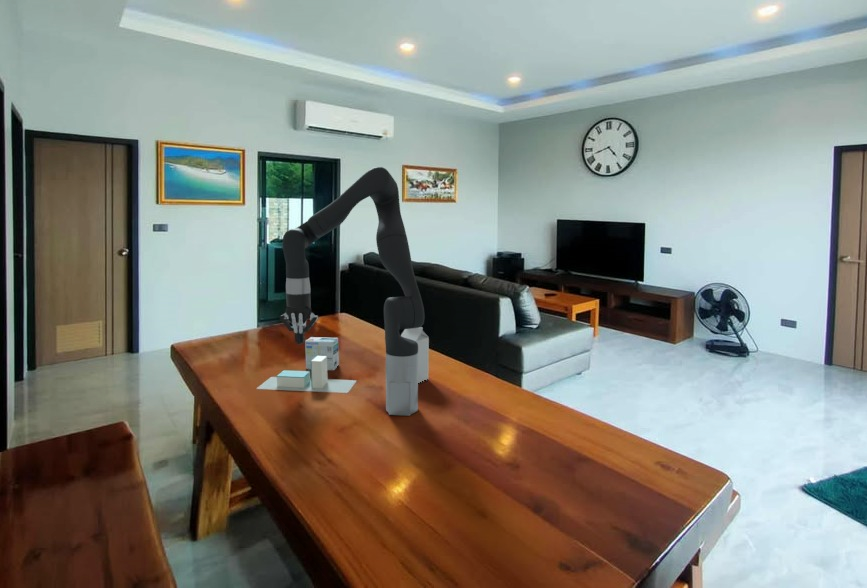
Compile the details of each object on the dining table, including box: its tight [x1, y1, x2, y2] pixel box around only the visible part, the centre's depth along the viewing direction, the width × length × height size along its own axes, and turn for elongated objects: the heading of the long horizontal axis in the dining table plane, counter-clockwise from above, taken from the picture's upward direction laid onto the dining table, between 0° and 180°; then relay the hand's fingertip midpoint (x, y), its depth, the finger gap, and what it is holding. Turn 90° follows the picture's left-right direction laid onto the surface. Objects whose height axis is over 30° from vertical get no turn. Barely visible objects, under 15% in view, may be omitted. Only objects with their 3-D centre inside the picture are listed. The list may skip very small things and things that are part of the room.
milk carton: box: [400, 326, 430, 384], centre depth 174 cm, size 7×7×19 cm
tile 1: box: [276, 370, 311, 388], centre depth 170 cm, size 6×4×9 cm
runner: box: [256, 376, 358, 394], centre depth 170 cm, size 12×30×1 cm, turn 84°
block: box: [310, 356, 329, 388], centre depth 168 cm, size 6×4×9 cm, turn 174°
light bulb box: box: [304, 336, 340, 371], centre depth 188 cm, size 11×7×11 cm, turn 84°
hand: (300, 343), depth 168 cm, fingers closed
